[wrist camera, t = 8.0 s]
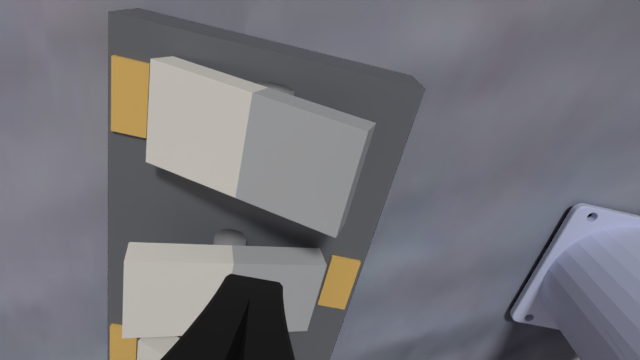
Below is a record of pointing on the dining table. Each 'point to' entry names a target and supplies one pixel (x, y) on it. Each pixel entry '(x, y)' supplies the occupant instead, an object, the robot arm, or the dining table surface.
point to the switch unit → (221, 209)
